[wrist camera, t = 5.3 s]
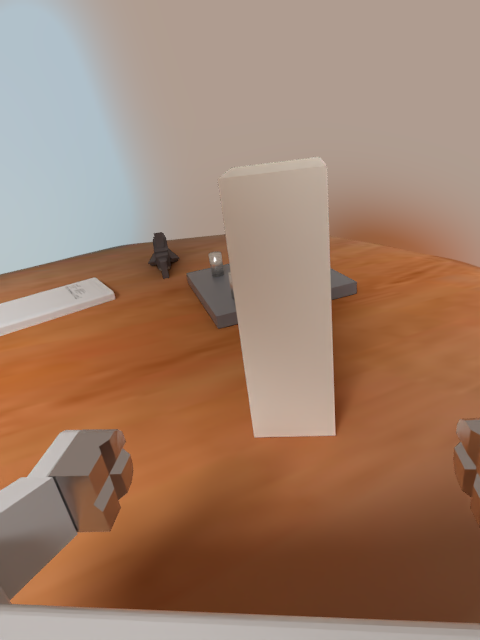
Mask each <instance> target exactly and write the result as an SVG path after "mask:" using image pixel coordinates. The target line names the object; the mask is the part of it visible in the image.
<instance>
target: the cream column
mask: <svg viewBox="0 0 480 640" xmlns="http://www.w3.org/2000/svg"><path fill="white" fill-rule="evenodd" d="M327 185H328V183H327V165H326V164H325V163H324V162H323V161H322V159H321V158H320V157H314V158H306V159H298V160H290V161H282V162H274V163H266V164H258V165H250V166H243V167H234V168H230V169H229V170H228V171H227V172H225V173H224V174H223V175H222V176H221V177H219V178H218V186H219V192H220V200H221V206H222V214H223V221H224V228H225V235H226V242H227V249H228V256H229V263H230V270H231V277H232V284H233V291H234V298H235V305H236V312H237V319H238V326H239V333H240V340H241V347H242V354H243V362H244V369H245V376H246V383H247V390H248V397H249V404H250V411H251V418H252V425H253V432H254V437H293V436H336V434H335V402H334V371H333V339H332V308H331V276H330V245H329V213H328V186H327Z"/></svg>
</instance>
